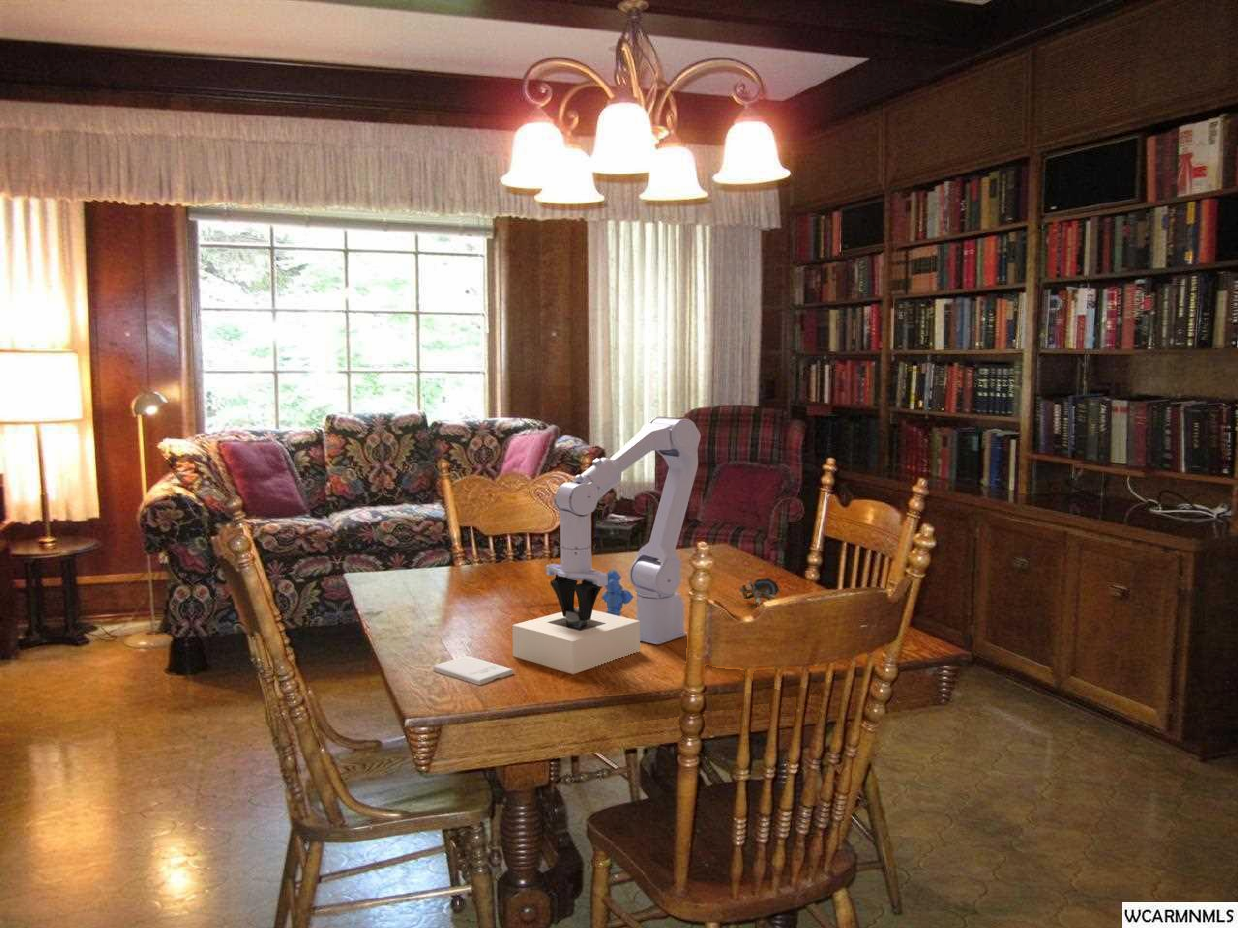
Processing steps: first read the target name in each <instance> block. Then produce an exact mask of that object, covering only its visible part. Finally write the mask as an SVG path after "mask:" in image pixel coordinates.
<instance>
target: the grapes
mask: <svg viewBox="0 0 1238 928" xmlns="http://www.w3.org/2000/svg"><path fill="white" fill-rule="evenodd" d="M606 574H607V575H608V585H604V588H605V590H606V591H605V592H604V593H603V594H602V596H601V599H602V601H604V602H605V603H606V608H607V610H606V611H605V612H604V613H609V614H613V615H617V616H620V615H622V612H621V610H622V608H623V605H627V604H629V603H631V602H632V600H633V599H634V595H633V594H632V593H631V592H630V591H629V590H628V589H625V590H624V589H623V585H621V583H620V580H621V578H622V576H621V575H620V574H619V572H617V571H616V570H614V569H612V570H609V572H607V573H606Z"/></svg>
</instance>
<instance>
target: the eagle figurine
mask: <svg viewBox="0 0 1238 928" xmlns="http://www.w3.org/2000/svg"><path fill="white" fill-rule="evenodd" d="M746 582H747V584H748V586H749V588H750V589H747V587H746V585H745V584H743V585H742V586H740V585H739V586H738V589H739V591H740V592H741V595H742V596H743V600H744V599H749V600H750V599H753V598H754V599H755V602H756V604H757V603H759V605H760V606H761V604H762V603H761V601H762V600H761V599H765V600H767V601H769V600H770V599H775V598H776V597H775V596H776V595H778V593H779V591H780V589H779V586H778V584H777V583H776V581H774V580H773V579H771V578H769V577H766V578H765V577H764V578H758V579H756V580H754V582H753V583H752V582H751V581H750V580H749V579H748V580H747V581H746ZM747 594H750V595H747Z"/></svg>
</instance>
